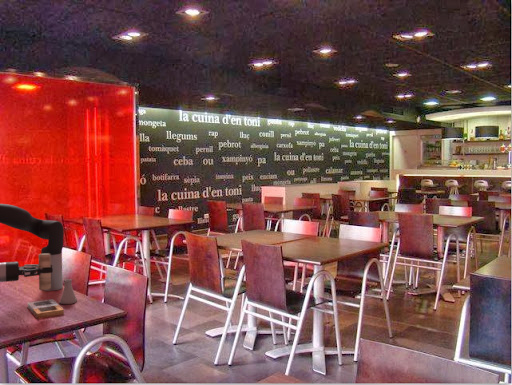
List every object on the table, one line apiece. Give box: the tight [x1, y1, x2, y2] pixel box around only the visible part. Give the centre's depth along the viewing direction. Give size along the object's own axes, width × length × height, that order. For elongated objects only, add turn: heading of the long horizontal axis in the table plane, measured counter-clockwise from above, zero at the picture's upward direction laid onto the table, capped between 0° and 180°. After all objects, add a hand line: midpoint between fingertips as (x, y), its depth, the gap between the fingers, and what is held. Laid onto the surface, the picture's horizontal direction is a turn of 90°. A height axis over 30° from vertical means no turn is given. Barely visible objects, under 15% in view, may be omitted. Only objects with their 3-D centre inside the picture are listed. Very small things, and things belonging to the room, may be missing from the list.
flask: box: [59, 278, 78, 305], centre depth 219 cm, size 7×7×10 cm
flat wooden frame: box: [27, 298, 65, 320], centre depth 206 cm, size 19×10×2 cm, turn 35°
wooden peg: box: [38, 253, 51, 291], centre depth 202 cm, size 4×4×14 cm
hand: (52, 268), depth 203 cm, fingers closed on wooden peg, 4 cm apart
